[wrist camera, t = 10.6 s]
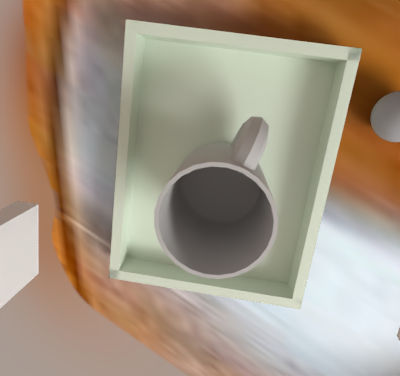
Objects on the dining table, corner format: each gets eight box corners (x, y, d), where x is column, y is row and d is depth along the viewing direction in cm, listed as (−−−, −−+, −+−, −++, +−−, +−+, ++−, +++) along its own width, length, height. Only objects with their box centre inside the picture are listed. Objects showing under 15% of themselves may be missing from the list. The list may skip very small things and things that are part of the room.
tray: (137, 27, 27) (125, 19, 24) (347, 53, 26) (362, 48, 23) (120, 261, 32) (108, 277, 29) (293, 289, 31) (300, 309, 28)
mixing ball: (369, 88, 26) (390, 87, 23) (418, 94, 26) (446, 94, 23) (358, 135, 27) (376, 141, 24) (404, 141, 27) (429, 148, 24)
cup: (163, 202, 30) (135, 247, 21) (215, 92, 27) (207, 91, 18) (239, 239, 30) (242, 298, 21) (298, 134, 27) (328, 152, 19)
